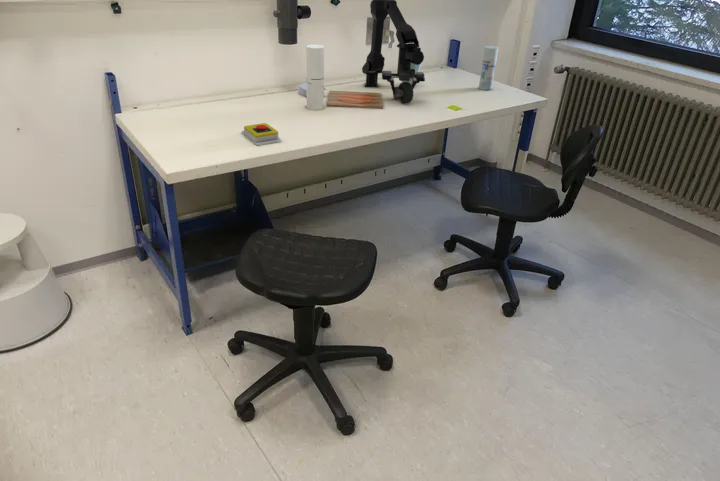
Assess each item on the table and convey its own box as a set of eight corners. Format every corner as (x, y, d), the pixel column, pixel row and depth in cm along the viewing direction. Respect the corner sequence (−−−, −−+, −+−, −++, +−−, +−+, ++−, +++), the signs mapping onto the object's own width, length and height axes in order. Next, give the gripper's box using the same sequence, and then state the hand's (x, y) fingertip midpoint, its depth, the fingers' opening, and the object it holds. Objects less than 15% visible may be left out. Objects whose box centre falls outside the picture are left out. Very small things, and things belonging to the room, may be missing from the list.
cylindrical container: (320, 110, 226) (321, 48, 213) (304, 108, 227) (304, 47, 214) (325, 105, 232) (326, 45, 219) (309, 104, 233) (309, 43, 220)
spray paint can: (475, 87, 269) (482, 45, 259) (486, 86, 272) (493, 45, 262) (483, 90, 264) (490, 48, 254) (494, 89, 267) (501, 48, 257)
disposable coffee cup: (395, 83, 269) (398, 52, 261) (415, 82, 272) (418, 52, 264) (403, 89, 260) (406, 57, 253) (423, 88, 263) (427, 56, 256)
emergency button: (256, 133, 185) (240, 121, 196) (257, 145, 188) (241, 132, 198) (281, 130, 190) (263, 117, 200) (281, 141, 192) (264, 129, 203)
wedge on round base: (326, 97, 243) (313, 89, 252) (327, 82, 239) (313, 75, 249) (309, 99, 239) (296, 91, 248) (309, 84, 235) (296, 77, 244)
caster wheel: (414, 106, 239) (398, 94, 250) (417, 85, 233) (400, 74, 244) (403, 108, 237) (387, 95, 247) (406, 86, 231) (389, 75, 242)
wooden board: (329, 92, 250) (329, 90, 249) (380, 94, 250) (380, 92, 250) (327, 106, 231) (327, 104, 230) (382, 108, 232) (382, 106, 231)
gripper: (384, 63, 226) (381, 99, 234) (428, 64, 227) (424, 101, 235) (383, 57, 236) (380, 92, 244) (425, 59, 237) (421, 94, 245)
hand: (401, 95), depth 242 cm, fingers closed on caster wheel, 7 cm apart
